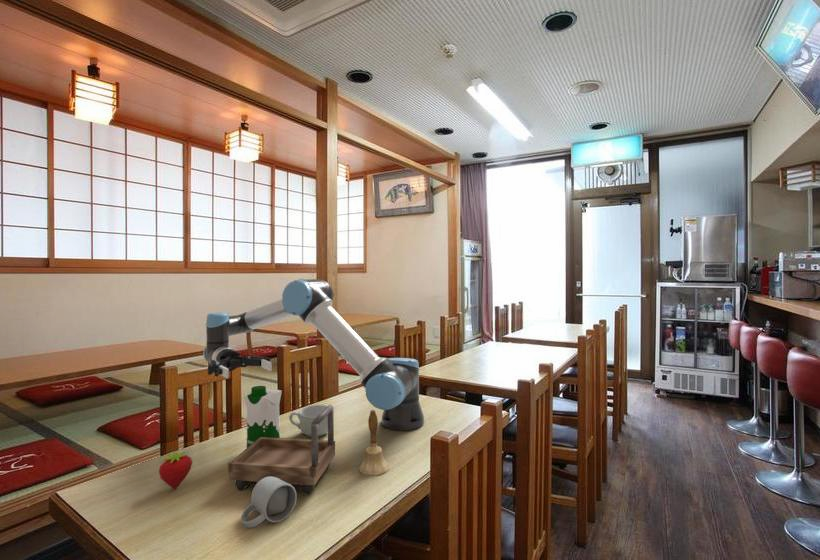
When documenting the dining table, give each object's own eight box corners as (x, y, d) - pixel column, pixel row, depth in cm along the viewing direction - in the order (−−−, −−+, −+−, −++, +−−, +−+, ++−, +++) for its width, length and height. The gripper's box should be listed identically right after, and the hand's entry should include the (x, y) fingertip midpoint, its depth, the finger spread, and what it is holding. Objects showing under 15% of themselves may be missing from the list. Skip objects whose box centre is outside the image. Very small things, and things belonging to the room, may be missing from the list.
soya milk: (241, 456, 119) (240, 388, 118) (262, 443, 127) (261, 380, 127) (266, 460, 116) (265, 391, 115) (285, 447, 124) (285, 382, 124)
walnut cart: (336, 465, 112) (335, 402, 112) (315, 497, 96) (314, 423, 96) (260, 461, 115) (259, 399, 115) (228, 491, 99) (227, 419, 99)
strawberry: (197, 484, 103) (197, 445, 103) (166, 498, 96) (166, 457, 96) (184, 478, 106) (184, 440, 106) (154, 491, 99) (153, 451, 99)
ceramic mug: (278, 499, 96) (277, 467, 96) (297, 513, 90) (296, 479, 90) (234, 520, 88) (233, 485, 88) (252, 537, 83) (251, 500, 82)
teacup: (336, 428, 140) (336, 405, 140) (326, 441, 129) (326, 416, 129) (297, 426, 141) (297, 403, 141) (284, 439, 130) (284, 414, 130)
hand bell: (364, 478, 105) (364, 418, 105) (355, 465, 113) (354, 408, 113) (393, 471, 109) (393, 413, 109) (382, 459, 116) (382, 404, 116)
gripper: (261, 364, 152) (286, 375, 137) (187, 375, 135) (207, 389, 120) (261, 344, 152) (286, 353, 137) (187, 353, 135) (207, 364, 120)
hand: (249, 370), depth 128 cm, fingers open, 13 cm apart
